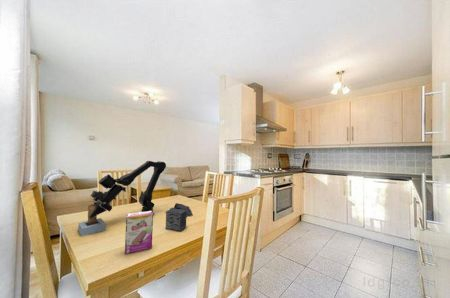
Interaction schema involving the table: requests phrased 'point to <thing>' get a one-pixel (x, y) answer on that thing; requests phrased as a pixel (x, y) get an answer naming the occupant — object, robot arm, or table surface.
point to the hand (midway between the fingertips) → (89, 216)
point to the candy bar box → (138, 231)
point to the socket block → (91, 227)
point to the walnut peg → (90, 211)
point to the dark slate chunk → (183, 207)
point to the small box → (176, 219)
